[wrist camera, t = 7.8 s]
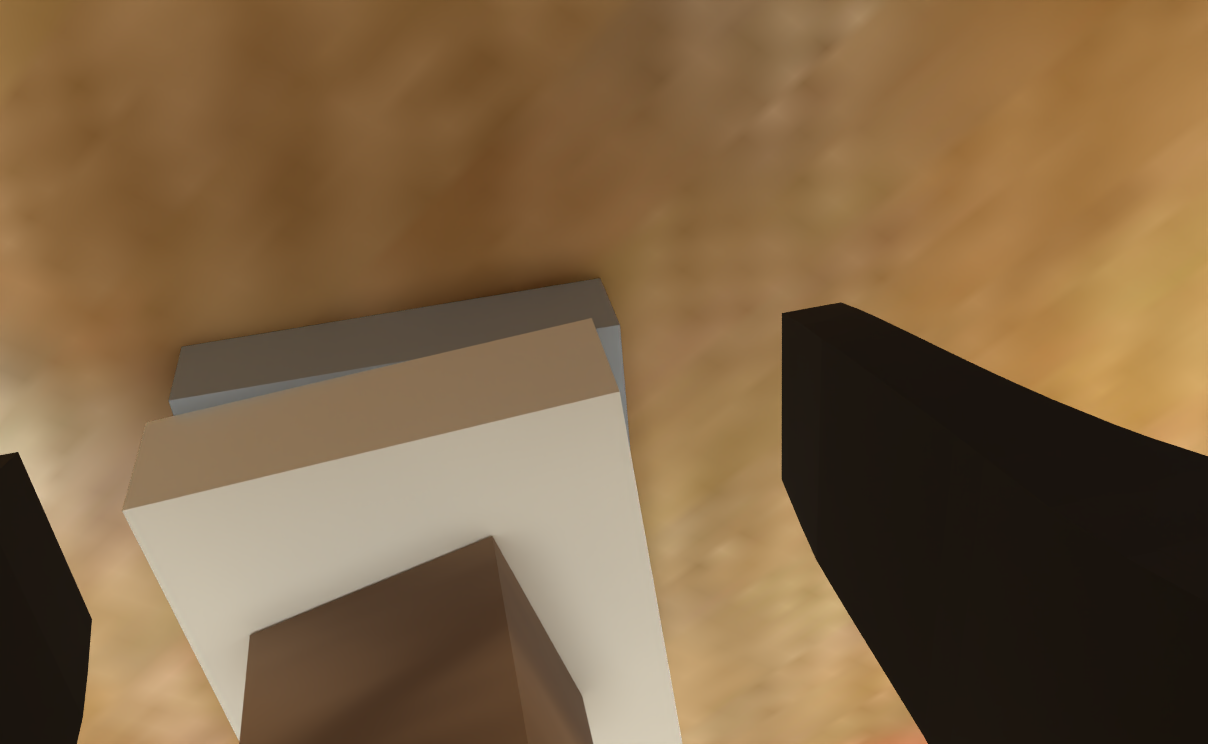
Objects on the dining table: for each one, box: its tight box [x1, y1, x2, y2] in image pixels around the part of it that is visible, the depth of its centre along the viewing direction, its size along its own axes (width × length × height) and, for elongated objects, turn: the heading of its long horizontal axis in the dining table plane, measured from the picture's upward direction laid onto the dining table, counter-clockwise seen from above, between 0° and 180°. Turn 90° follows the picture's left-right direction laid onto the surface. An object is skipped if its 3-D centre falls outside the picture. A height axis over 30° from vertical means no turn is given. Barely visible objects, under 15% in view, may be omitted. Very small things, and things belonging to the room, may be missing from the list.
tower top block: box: [122, 318, 682, 744], centre depth 22 cm, size 8×10×2 cm
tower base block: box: [169, 278, 630, 447], centre depth 24 cm, size 8×10×2 cm
